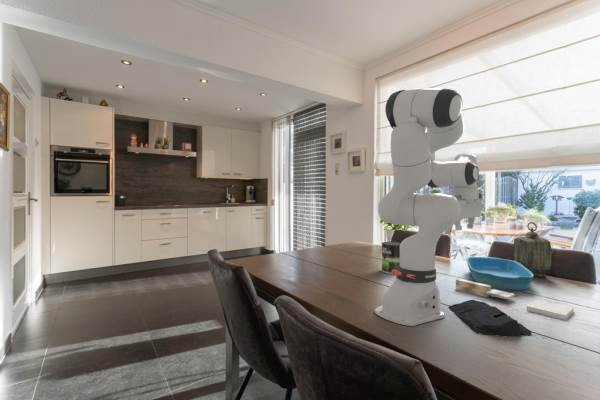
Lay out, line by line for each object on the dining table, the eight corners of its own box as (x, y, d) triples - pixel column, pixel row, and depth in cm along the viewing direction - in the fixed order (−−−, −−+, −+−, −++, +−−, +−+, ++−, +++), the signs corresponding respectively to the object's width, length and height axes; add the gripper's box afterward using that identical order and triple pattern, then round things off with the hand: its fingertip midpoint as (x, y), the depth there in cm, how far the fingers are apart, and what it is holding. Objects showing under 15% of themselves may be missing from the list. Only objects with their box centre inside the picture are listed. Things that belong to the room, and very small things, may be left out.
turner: (453, 290, 123) (453, 280, 123) (461, 287, 127) (461, 277, 127) (507, 303, 108) (507, 292, 108) (514, 300, 112) (514, 289, 112)
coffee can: (391, 275, 146) (391, 245, 145) (377, 270, 155) (377, 242, 155) (407, 272, 150) (408, 244, 150) (393, 268, 159) (393, 241, 159)
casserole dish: (541, 297, 116) (541, 278, 116) (473, 290, 124) (473, 272, 124) (515, 273, 150) (515, 258, 150) (463, 268, 158) (463, 255, 158)
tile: (536, 304, 108) (573, 313, 100) (526, 311, 102) (565, 321, 94) (536, 299, 108) (573, 307, 100) (526, 305, 102) (565, 315, 94)
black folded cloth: (490, 308, 105) (490, 294, 105) (536, 339, 83) (537, 321, 83) (444, 307, 106) (444, 294, 106) (478, 338, 84) (479, 320, 84)
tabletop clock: (551, 279, 138) (552, 223, 137) (528, 278, 139) (529, 223, 138) (532, 271, 152) (532, 220, 151) (511, 270, 153) (512, 220, 153)
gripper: (459, 195, 115) (459, 232, 115) (484, 194, 127) (484, 228, 127) (443, 195, 120) (443, 230, 120) (468, 194, 132) (468, 227, 132)
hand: (464, 229), depth 124 cm, fingers open, 8 cm apart
